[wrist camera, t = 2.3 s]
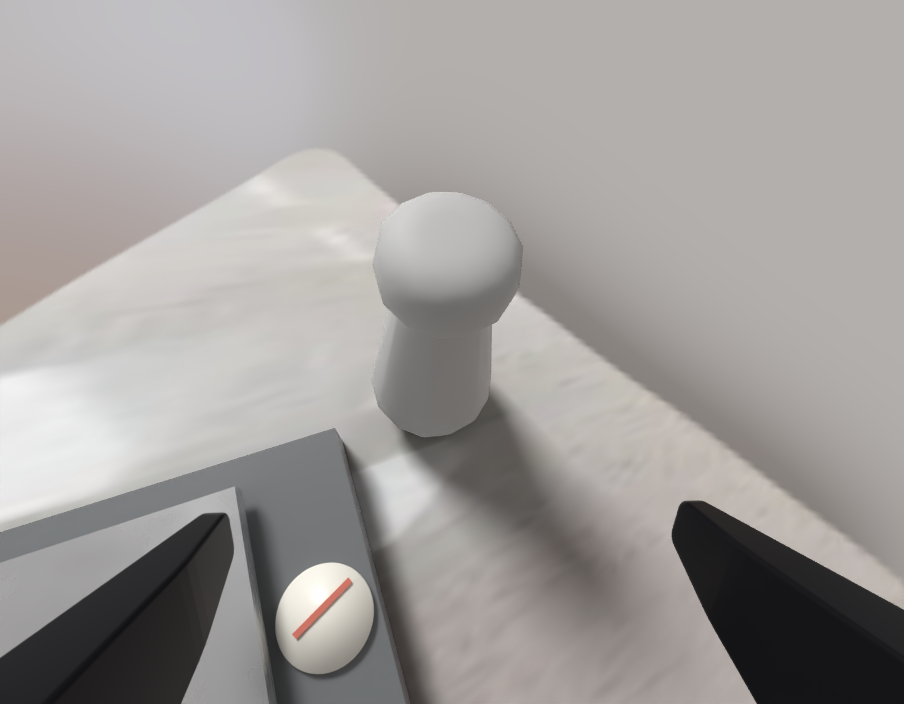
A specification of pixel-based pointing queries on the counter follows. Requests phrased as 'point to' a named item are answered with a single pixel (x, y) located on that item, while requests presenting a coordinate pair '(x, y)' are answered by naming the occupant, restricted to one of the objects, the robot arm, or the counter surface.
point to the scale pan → (114, 548)
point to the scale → (282, 565)
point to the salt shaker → (441, 308)
